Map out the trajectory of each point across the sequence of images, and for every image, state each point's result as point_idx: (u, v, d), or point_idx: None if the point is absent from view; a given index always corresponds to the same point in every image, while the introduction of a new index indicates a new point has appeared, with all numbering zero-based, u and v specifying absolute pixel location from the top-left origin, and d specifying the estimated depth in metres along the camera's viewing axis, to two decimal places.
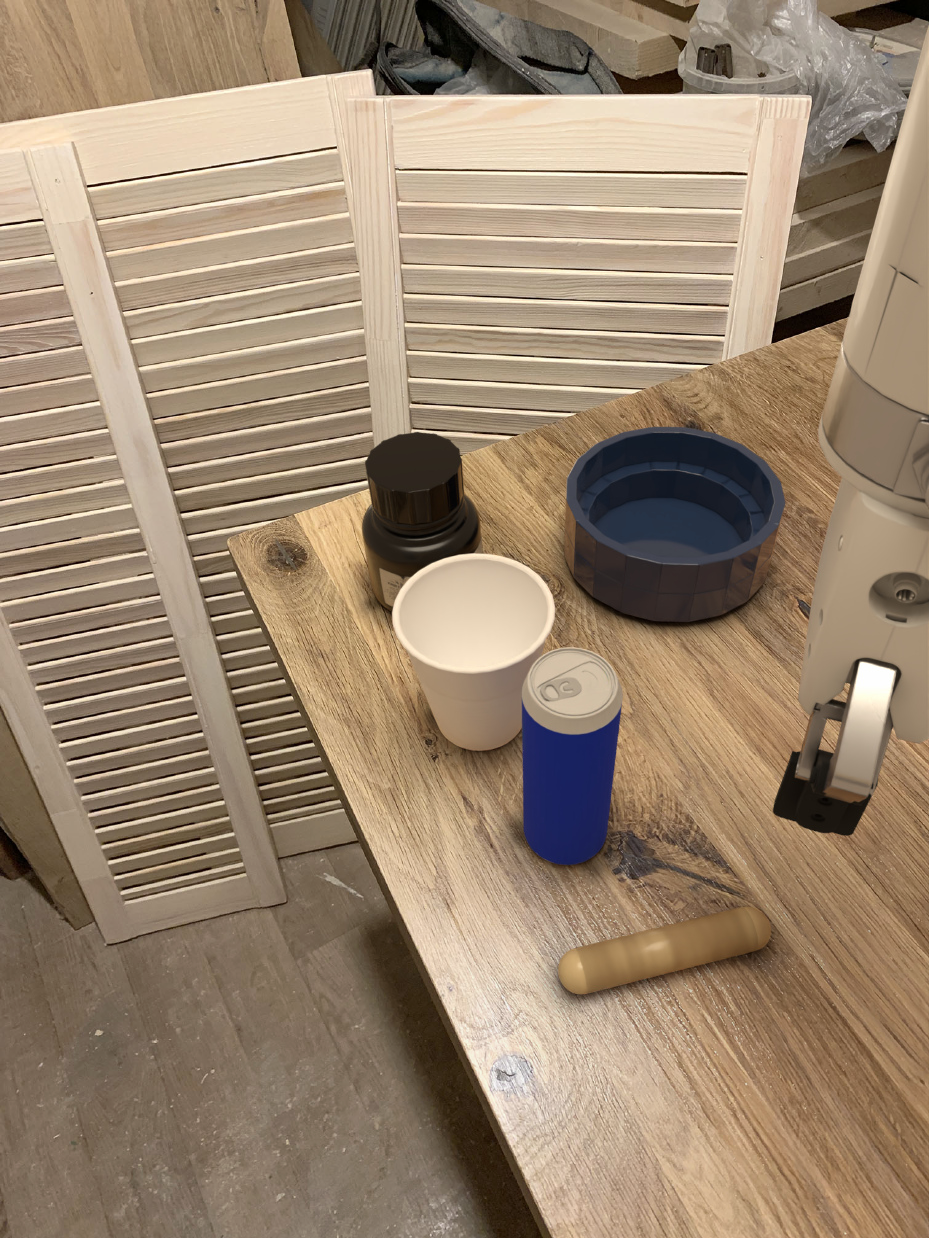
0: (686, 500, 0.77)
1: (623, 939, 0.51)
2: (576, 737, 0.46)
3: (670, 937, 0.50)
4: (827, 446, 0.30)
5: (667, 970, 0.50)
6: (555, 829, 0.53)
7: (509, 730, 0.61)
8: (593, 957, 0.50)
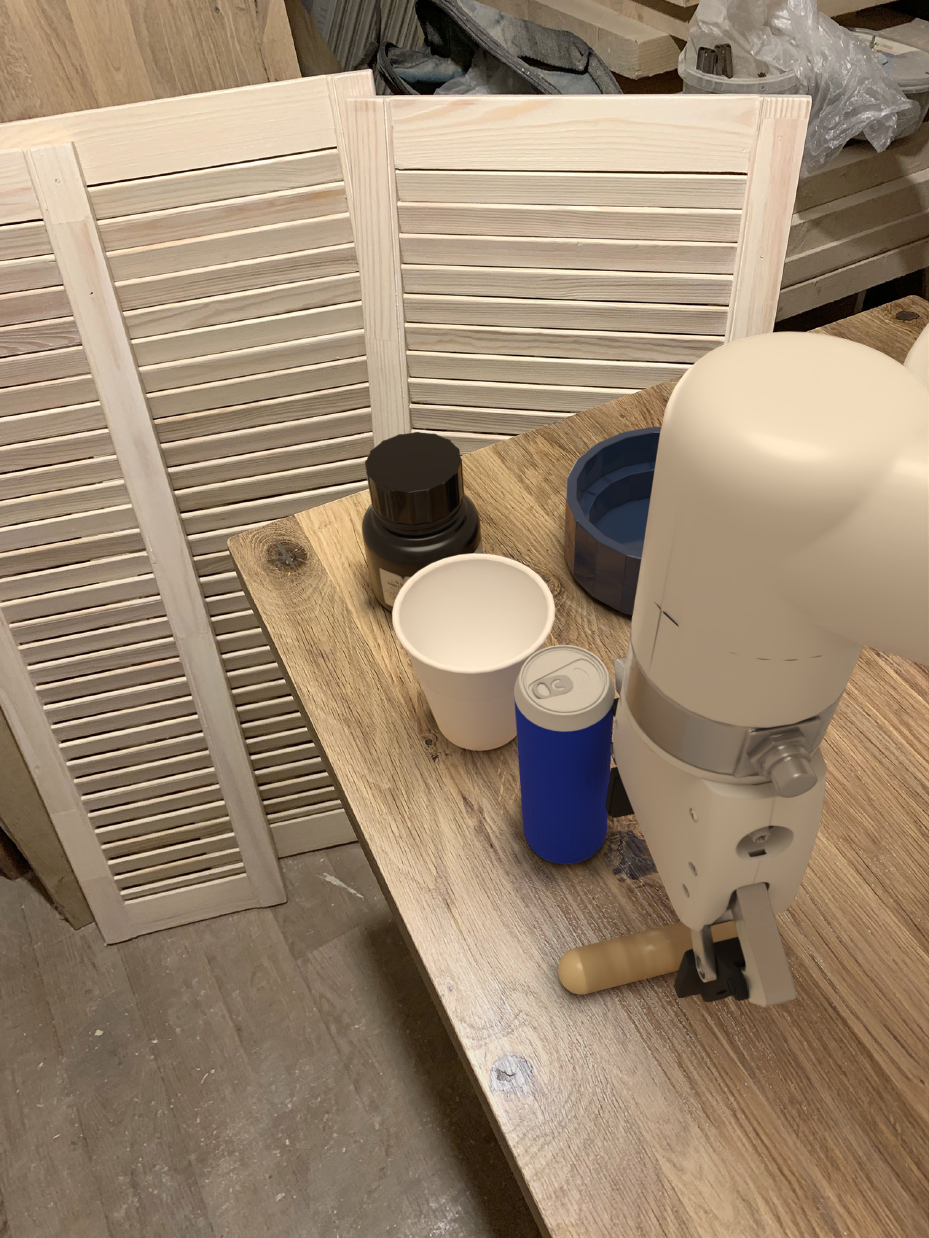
0: None
1: (623, 939, 0.51)
2: (568, 734, 0.46)
3: (670, 937, 0.50)
4: (654, 745, 0.33)
5: (667, 970, 0.50)
6: (552, 828, 0.53)
7: (509, 730, 0.61)
8: (593, 957, 0.50)
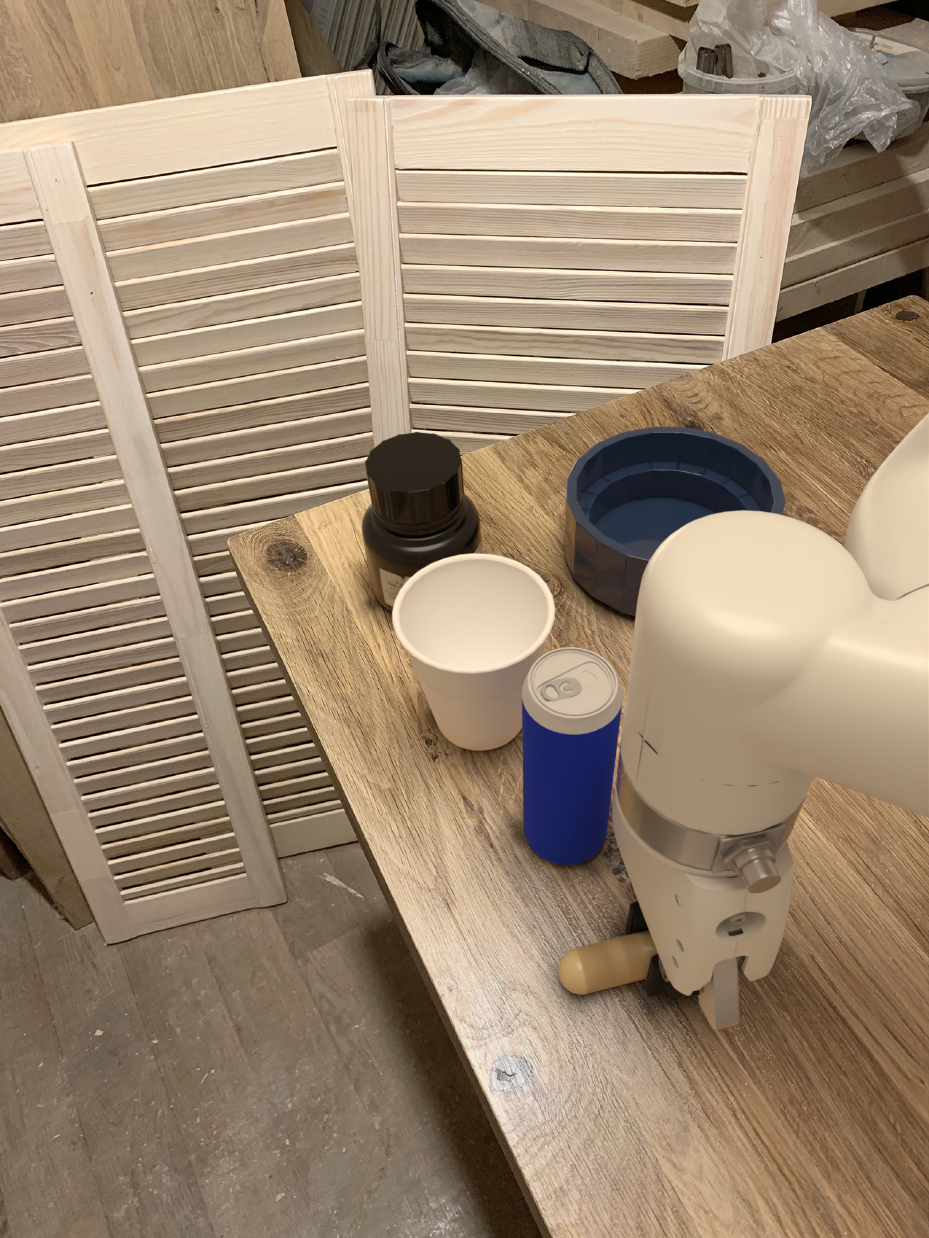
0: (686, 500, 0.77)
1: (623, 939, 0.51)
2: (576, 737, 0.46)
3: None
4: (643, 842, 0.38)
5: None
6: (555, 829, 0.53)
7: (509, 730, 0.61)
8: (592, 957, 0.50)
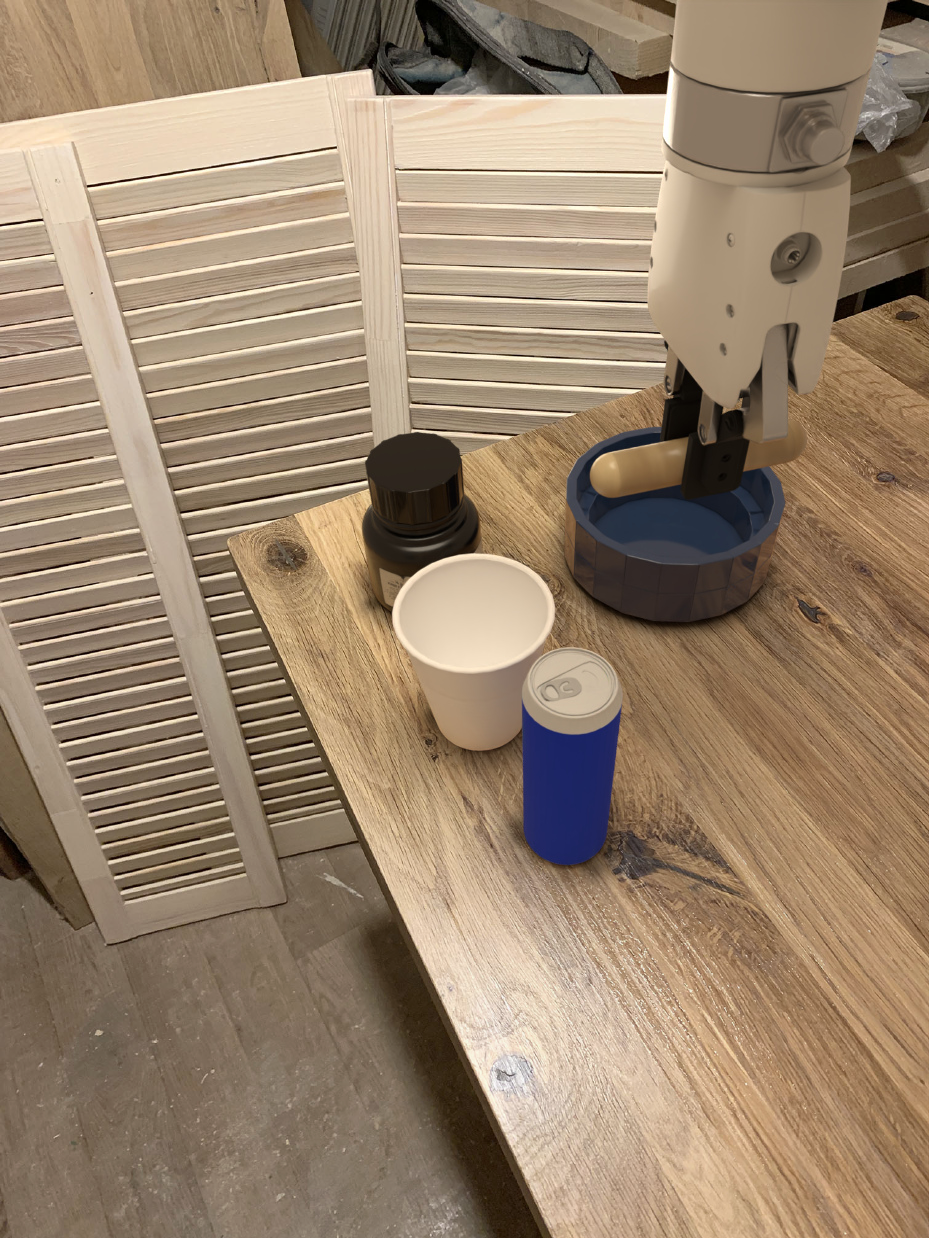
0: (686, 500, 0.77)
1: (656, 443, 0.49)
2: (576, 737, 0.46)
3: None
4: (694, 166, 0.36)
5: None
6: (555, 829, 0.53)
7: (509, 730, 0.61)
8: (626, 453, 0.48)
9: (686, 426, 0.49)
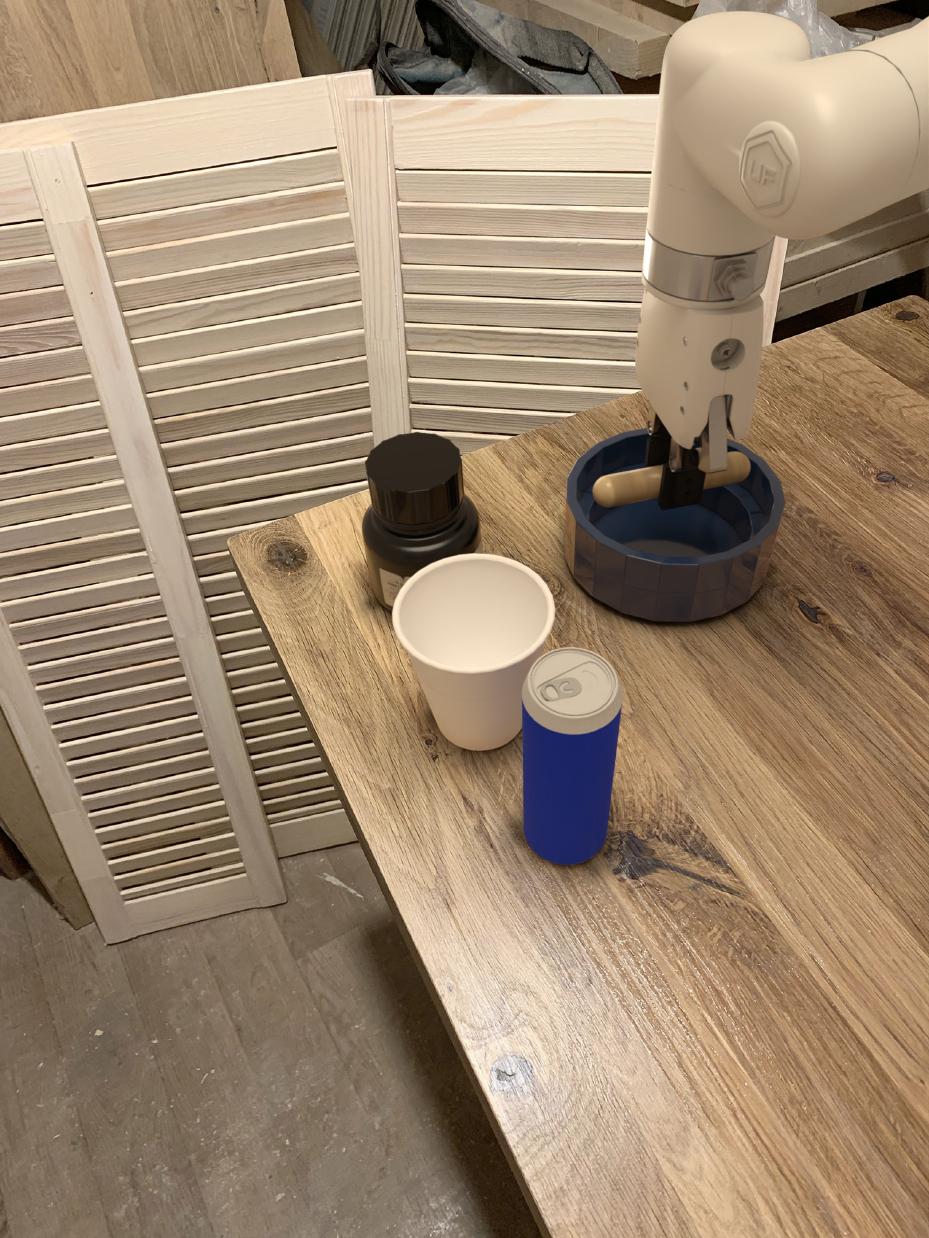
0: None
1: None
2: (576, 737, 0.46)
3: None
4: (661, 294, 0.55)
5: None
6: (555, 829, 0.53)
7: (509, 730, 0.61)
8: (618, 476, 0.68)
9: (663, 457, 0.69)
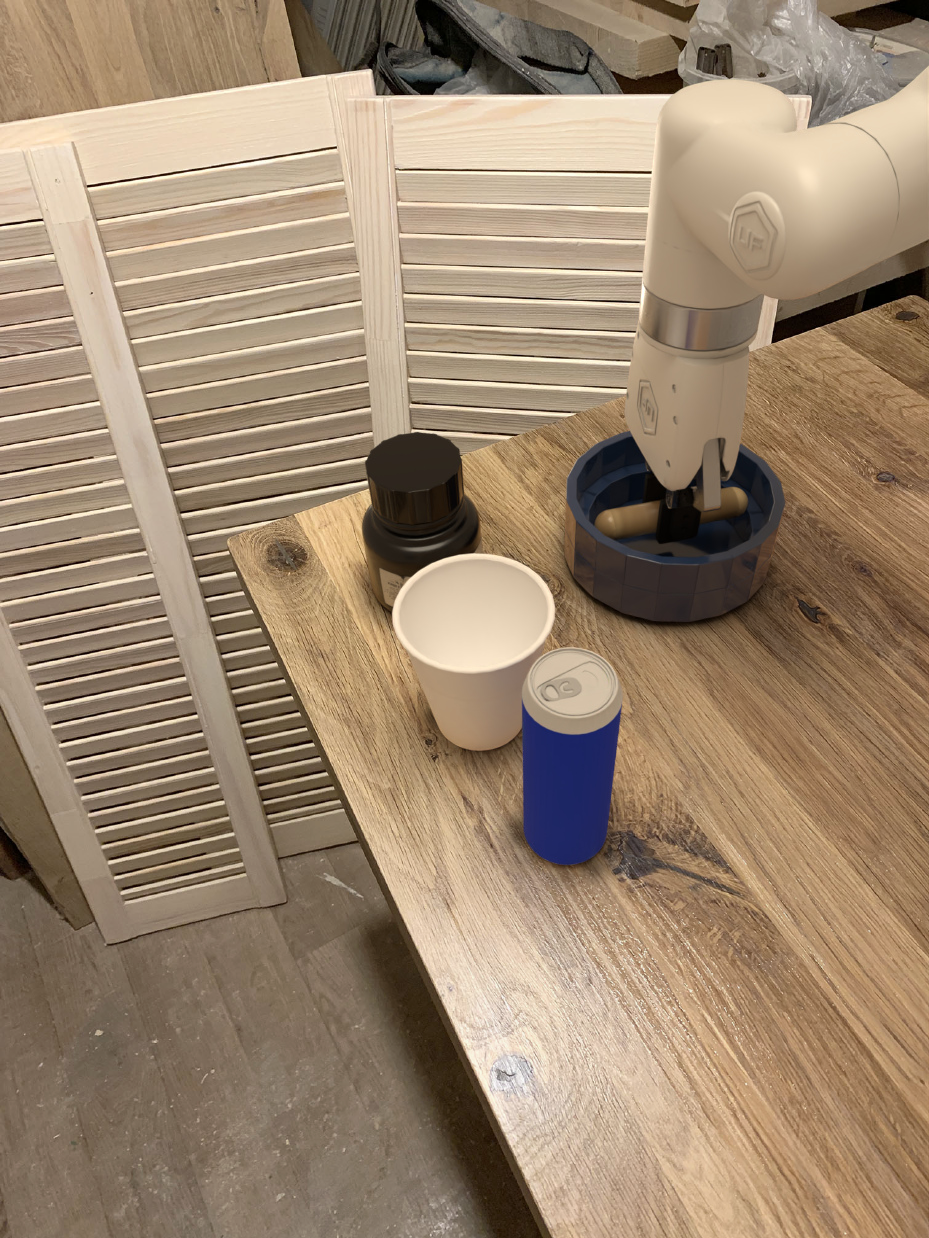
0: None
1: None
2: (576, 737, 0.46)
3: None
4: None
5: None
6: (555, 829, 0.53)
7: (509, 730, 0.61)
8: (726, 492, 0.71)
9: None
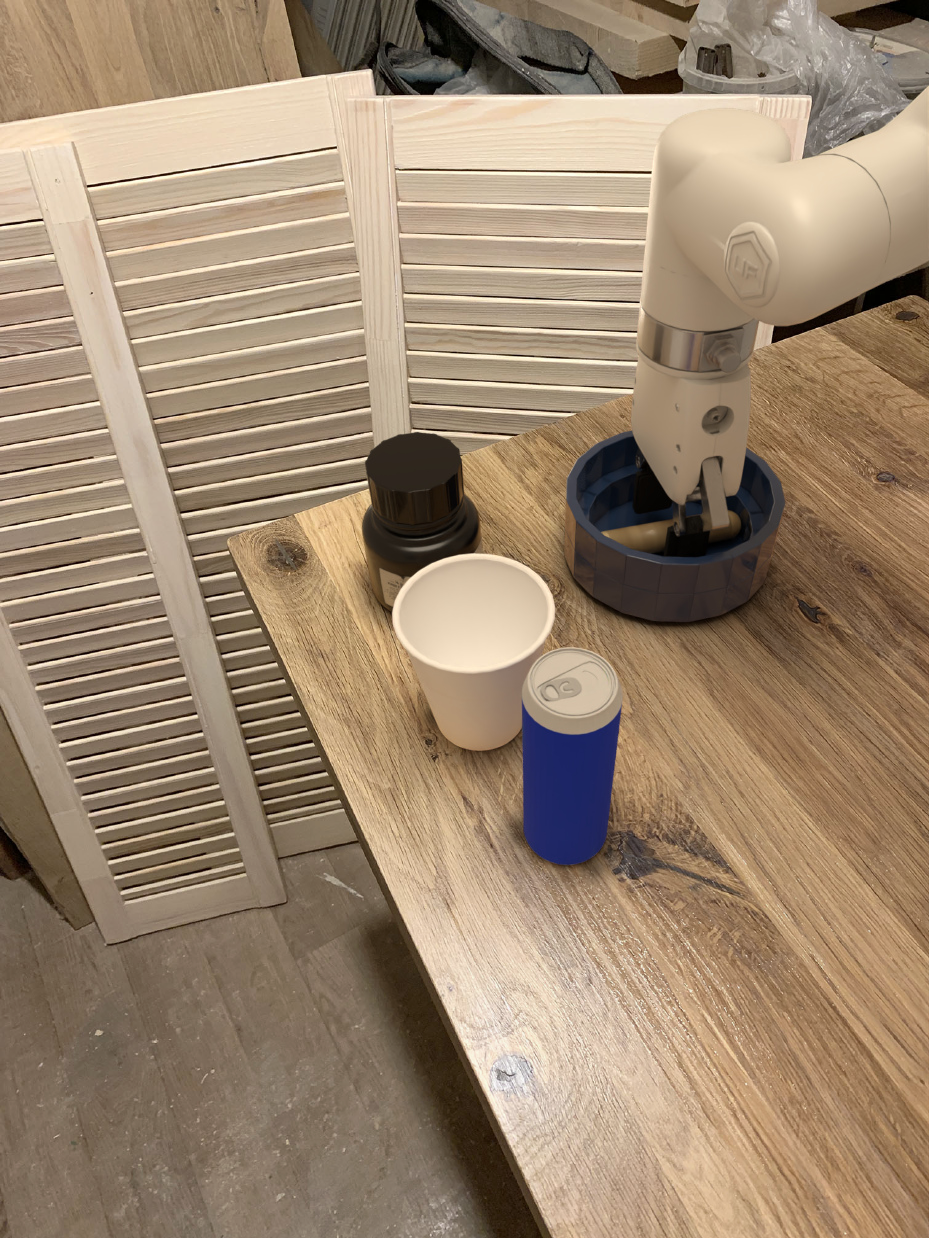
0: None
1: (637, 525, 0.72)
2: (576, 737, 0.46)
3: (671, 523, 0.72)
4: (654, 364, 0.59)
5: None
6: (555, 829, 0.53)
7: (509, 730, 0.61)
8: (617, 532, 0.71)
9: (650, 489, 0.73)
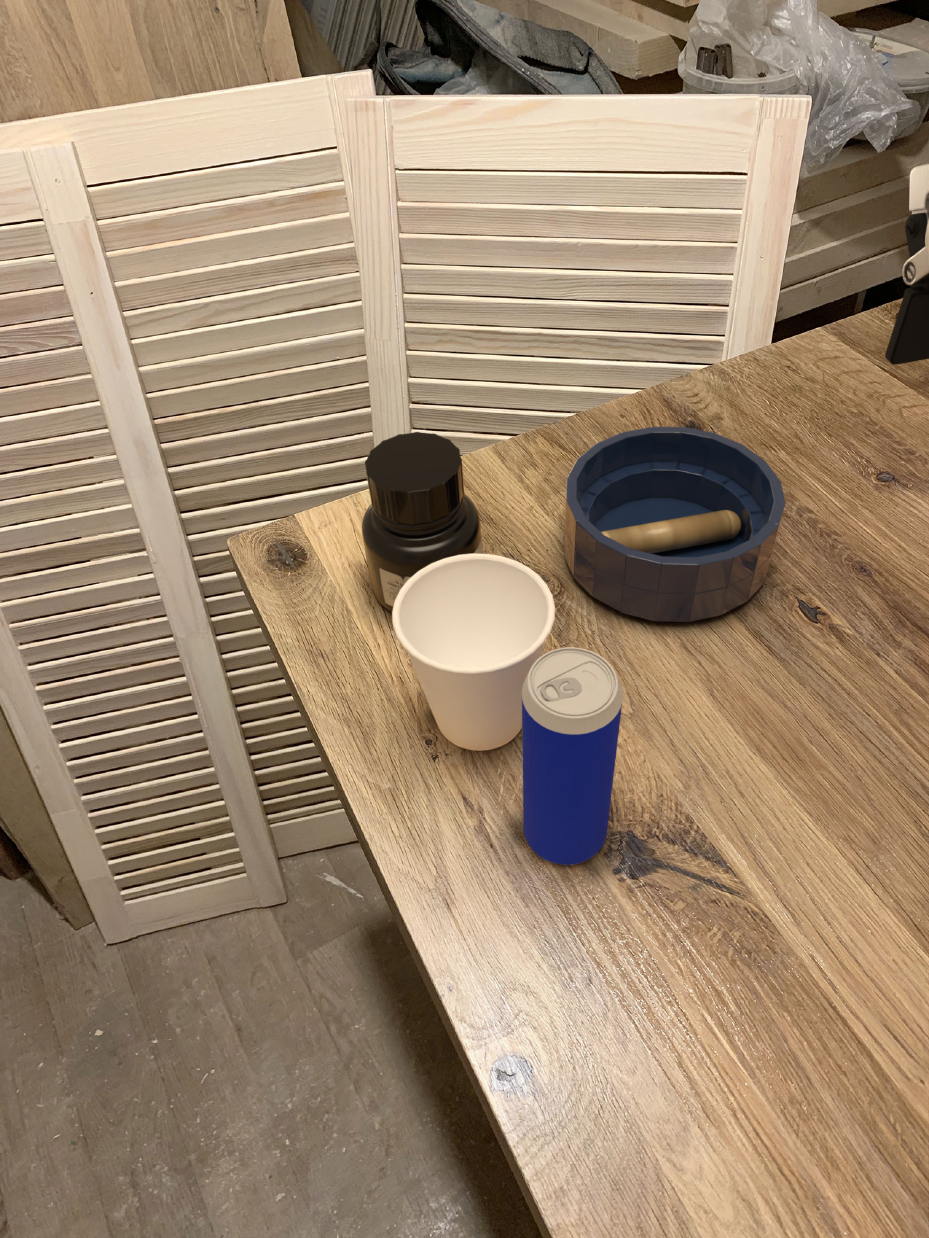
0: (686, 500, 0.77)
1: (637, 525, 0.72)
2: (576, 737, 0.46)
3: (671, 523, 0.72)
4: None
5: (668, 545, 0.72)
6: (555, 829, 0.53)
7: (509, 730, 0.61)
8: (617, 532, 0.71)
9: (925, 319, 0.46)
